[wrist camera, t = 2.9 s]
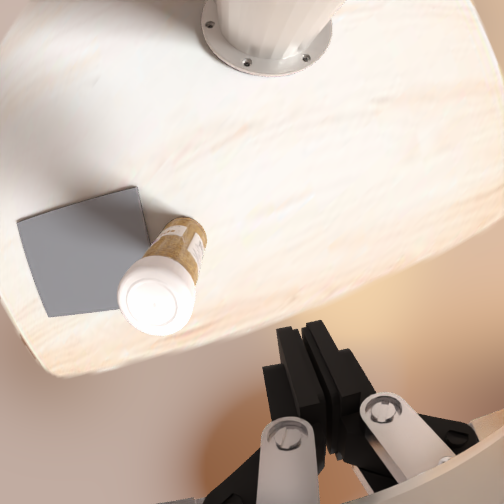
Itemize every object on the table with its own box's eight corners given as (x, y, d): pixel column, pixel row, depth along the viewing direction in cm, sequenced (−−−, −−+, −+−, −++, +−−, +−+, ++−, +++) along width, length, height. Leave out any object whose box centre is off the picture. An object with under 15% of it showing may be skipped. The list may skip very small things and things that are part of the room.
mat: (50, 315, 30) (48, 317, 29) (19, 221, 26) (16, 222, 26) (165, 300, 30) (164, 302, 30) (137, 186, 27) (135, 187, 26)
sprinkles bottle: (170, 209, 28) (124, 253, 15) (214, 226, 28) (203, 284, 16) (156, 252, 29) (108, 321, 16) (198, 268, 30) (179, 348, 17)
